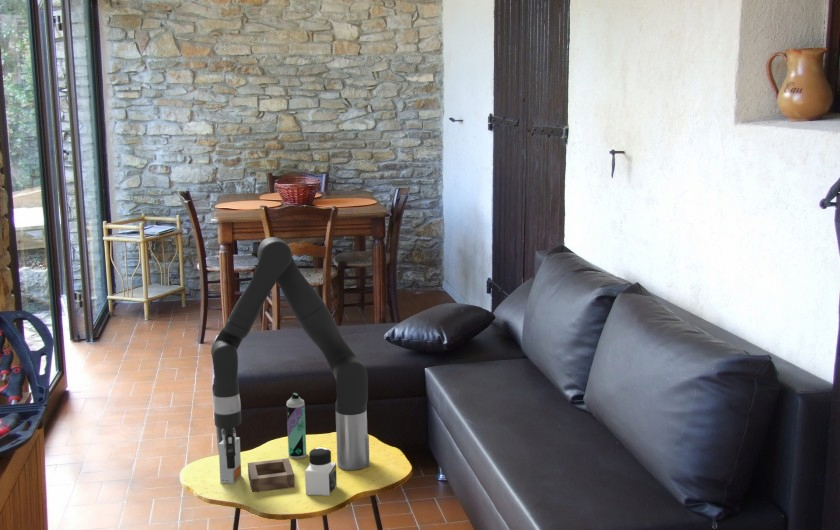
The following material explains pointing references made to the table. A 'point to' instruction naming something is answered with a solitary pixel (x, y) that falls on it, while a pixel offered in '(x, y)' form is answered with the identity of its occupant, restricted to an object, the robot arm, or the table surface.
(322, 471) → the medicine bottle
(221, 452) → the skincare box
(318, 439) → the table surface
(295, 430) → the spray can
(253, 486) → the walnut well block
